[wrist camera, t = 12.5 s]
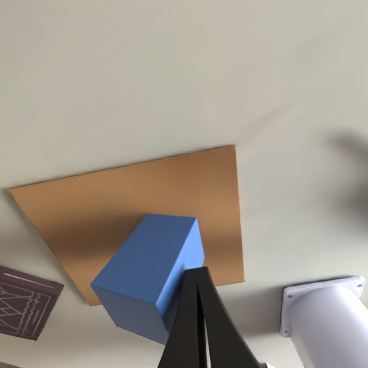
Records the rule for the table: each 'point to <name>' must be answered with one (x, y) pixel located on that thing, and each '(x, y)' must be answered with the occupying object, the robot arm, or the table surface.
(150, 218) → the blue block
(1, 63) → the table surface
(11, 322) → the chocolate bar
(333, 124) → the table surface
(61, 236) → the cork mat
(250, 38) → the table surface
